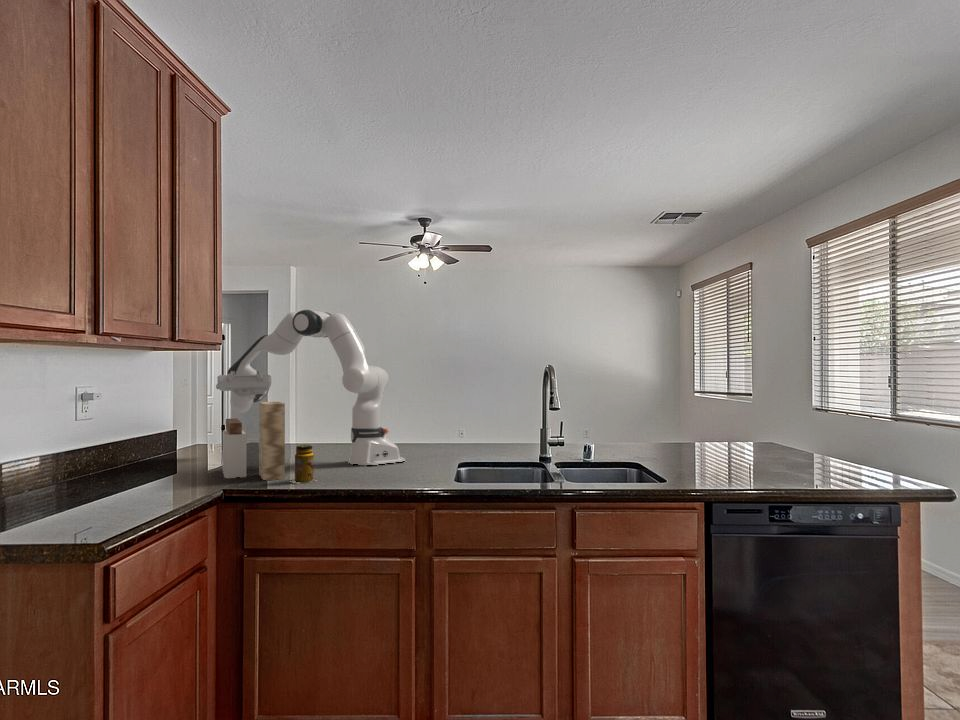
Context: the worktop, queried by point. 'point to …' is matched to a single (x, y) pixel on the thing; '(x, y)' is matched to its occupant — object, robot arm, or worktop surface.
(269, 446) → the stand
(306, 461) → the condiment
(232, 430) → the bar
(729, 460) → the worktop surface
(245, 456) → the step
